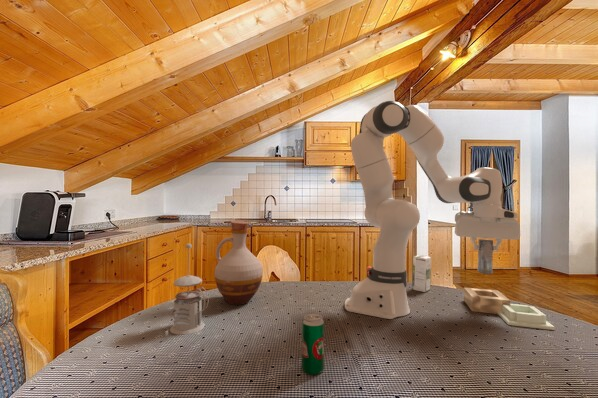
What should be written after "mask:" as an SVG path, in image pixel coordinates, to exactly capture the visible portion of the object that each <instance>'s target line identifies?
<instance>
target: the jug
mask: <svg viewBox="0 0 598 398" xmlns="http://www.w3.org/2000/svg"><path fill="white" fill-rule="evenodd" d="M230 227H231V229H230V234H231V235H232V237H229V236H228V237H225V238H223V239H222V240H221V241H220V242H219V243H218V245H217V246H216V250H215V257H216V260H217V264H216V266H215V269H214V280H215V285H216V287H217V290H218V291H219V294H221V296H222V298H223V299H225V301H226V302H227V303H228V304H231V305H233V306H234V305H235V306H236V305H238V306H239V305H245V304H247V303H249V302H250V301H251V300H252V299H253V297H254V295H256V293H257V292H258V290H259V288H260V287H261V282H262V280H263V276H264V275H263V274H264V269H263V264H262V263H261V261H260V259H259V258H258V257H256V256H255V255H254V254H253V253H252V252H251V251H250V249H249V248H248V247H247V244H246V241H247V235H248V233H249V229H248V227H249V222H248V221H243V220H232V221H230ZM226 242H227V243H228V242H231V243H232V247H231V248H230V250H229V251H228V252H227V253H226V254H225V255H224V256H223V257H222V258H221V254H220V253H221V252H220V251H221V248H222V246H223V245H224V244H225V243H226Z"/></svg>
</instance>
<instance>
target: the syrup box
mask: <svg viewBox="0 0 598 398" xmlns="http://www.w3.org/2000/svg"><path fill="white" fill-rule="evenodd" d="M431 276H432V257H431V256H427V255H424V254H417V255H415V256H413V257H412V282H411V283H412V285H411V289H412V290H414V291H418V292H423V293H426V292H429V291H431V282H432V281H431V279H432V277H431Z"/></svg>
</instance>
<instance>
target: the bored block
mask: <svg viewBox="0 0 598 398" xmlns="http://www.w3.org/2000/svg"><path fill="white" fill-rule="evenodd" d="M463 301H464V303H465V304H466V305H467V307H469V309H470V310H471V312H476V313H485V314H486V313H487V314H495V315H498V311H502V304H506V305H508V306H509V307H510V304H511V300H510V298H508V297H507V296H506V295H504V293H502V292H501V291H499V290H497V289H483V288H472V287H463Z"/></svg>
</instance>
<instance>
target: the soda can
mask: <svg viewBox="0 0 598 398" xmlns="http://www.w3.org/2000/svg"><path fill="white" fill-rule="evenodd" d="M301 369H302V372H304V373H305V374H307V375H310V376H316V375H317V376H318V375H320V374H322V372H323V371H324V369H325V321H324V317H323V316H322V315H321V314H318V313H306V314H305V315H304V316H303V319H302V320H301Z"/></svg>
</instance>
